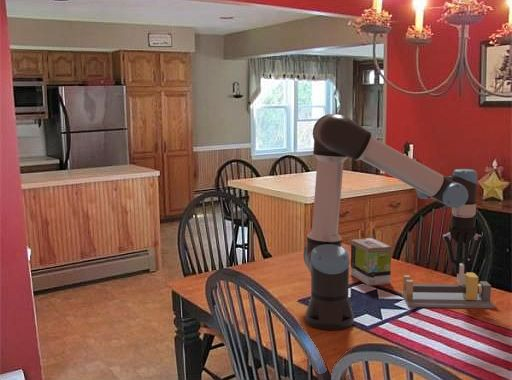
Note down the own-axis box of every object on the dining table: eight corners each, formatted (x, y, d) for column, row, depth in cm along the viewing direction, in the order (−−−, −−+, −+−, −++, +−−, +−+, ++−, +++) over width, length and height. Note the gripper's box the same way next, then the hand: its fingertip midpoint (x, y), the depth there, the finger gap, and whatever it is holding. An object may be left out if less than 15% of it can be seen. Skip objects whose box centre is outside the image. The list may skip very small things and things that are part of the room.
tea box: (391, 283, 204) (392, 246, 201) (367, 286, 201) (368, 248, 199) (372, 272, 218) (372, 236, 216) (349, 274, 215) (350, 238, 213)
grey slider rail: (493, 308, 178) (495, 285, 177) (408, 306, 180) (408, 284, 179) (481, 295, 190) (483, 273, 188) (401, 294, 192) (402, 272, 191)
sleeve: (477, 300, 181) (478, 277, 180) (466, 299, 182) (467, 277, 180) (472, 294, 186) (473, 272, 185) (461, 294, 187) (462, 272, 185)
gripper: (479, 213, 183) (476, 279, 187) (440, 212, 184) (437, 278, 188) (487, 217, 175) (483, 286, 179) (446, 217, 177) (443, 286, 180)
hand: (460, 282), depth 183 cm, fingers closed
